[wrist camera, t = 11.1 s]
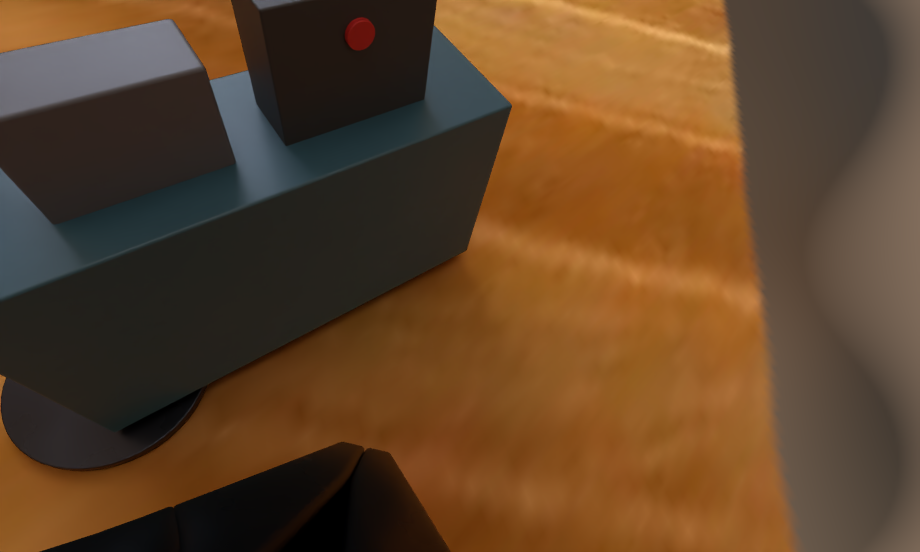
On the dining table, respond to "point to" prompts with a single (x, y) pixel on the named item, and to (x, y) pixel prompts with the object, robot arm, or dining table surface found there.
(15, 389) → the foot
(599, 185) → the dining table surface
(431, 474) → the dining table surface
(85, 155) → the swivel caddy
